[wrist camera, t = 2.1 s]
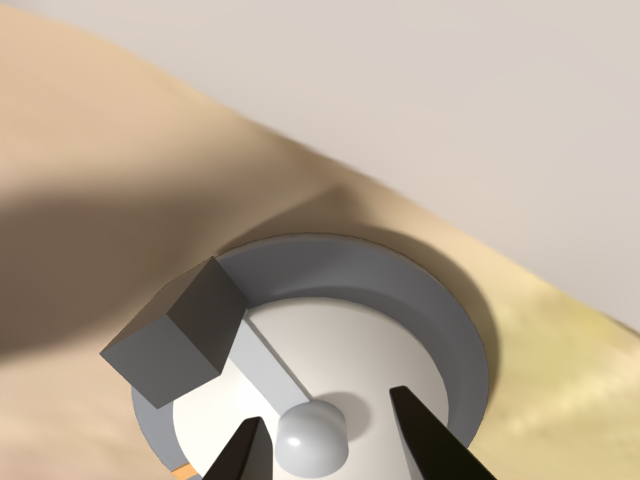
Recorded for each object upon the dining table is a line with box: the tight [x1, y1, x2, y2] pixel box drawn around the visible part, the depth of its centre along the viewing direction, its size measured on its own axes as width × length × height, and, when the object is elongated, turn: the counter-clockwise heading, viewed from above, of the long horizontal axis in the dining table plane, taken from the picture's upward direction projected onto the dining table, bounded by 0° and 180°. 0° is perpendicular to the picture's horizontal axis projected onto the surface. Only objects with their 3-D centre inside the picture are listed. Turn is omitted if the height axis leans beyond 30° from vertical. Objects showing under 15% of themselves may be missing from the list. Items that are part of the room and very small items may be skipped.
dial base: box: [131, 233, 489, 480], centre depth 20 cm, size 22×22×2 cm
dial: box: [99, 256, 449, 480], centre depth 16 cm, size 20×16×6 cm
